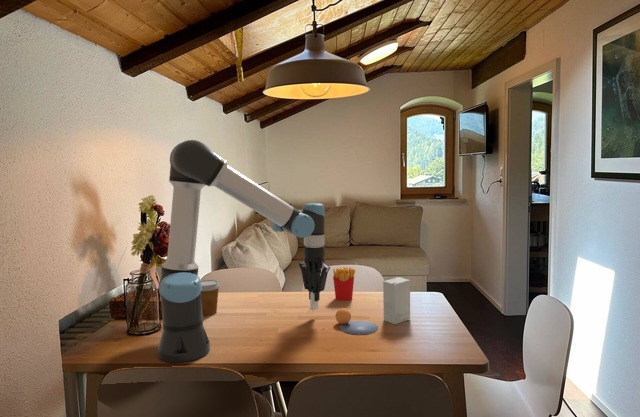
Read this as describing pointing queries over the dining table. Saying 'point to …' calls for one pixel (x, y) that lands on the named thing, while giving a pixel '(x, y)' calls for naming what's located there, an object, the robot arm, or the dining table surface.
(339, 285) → the french fries
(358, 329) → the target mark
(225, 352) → the dining table surface
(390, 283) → the skincare box
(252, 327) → the dining table surface
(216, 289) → the disposable coffee cup
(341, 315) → the ball
